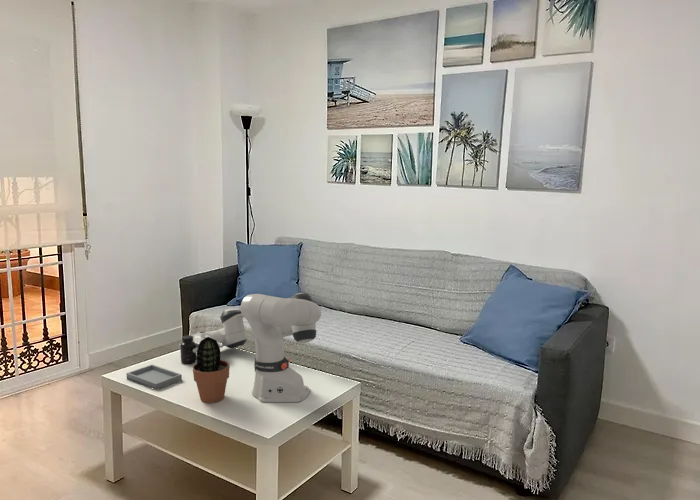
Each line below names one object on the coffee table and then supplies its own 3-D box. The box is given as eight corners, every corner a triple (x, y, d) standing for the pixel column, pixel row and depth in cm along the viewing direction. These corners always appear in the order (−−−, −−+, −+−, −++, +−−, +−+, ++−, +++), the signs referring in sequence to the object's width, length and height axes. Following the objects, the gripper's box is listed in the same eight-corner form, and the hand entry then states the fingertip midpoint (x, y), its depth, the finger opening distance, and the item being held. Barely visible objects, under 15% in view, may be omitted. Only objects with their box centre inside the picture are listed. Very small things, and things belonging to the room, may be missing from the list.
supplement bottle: (181, 359, 248) (180, 334, 246) (197, 358, 250) (196, 334, 248) (180, 365, 242) (178, 339, 240) (195, 364, 243) (194, 338, 241)
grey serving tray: (181, 380, 224) (181, 374, 224) (156, 390, 214) (156, 384, 214) (152, 369, 236) (152, 364, 235) (126, 378, 226) (126, 373, 225)
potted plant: (237, 395, 210) (236, 333, 206) (213, 408, 198) (211, 343, 194) (211, 388, 216) (208, 328, 212) (186, 401, 204) (183, 337, 201)
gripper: (225, 351, 249) (201, 360, 238) (197, 343, 261) (173, 350, 250) (225, 338, 248) (201, 346, 237) (197, 330, 260) (172, 337, 249)
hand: (186, 348), depth 244 cm, fingers open, 8 cm apart
